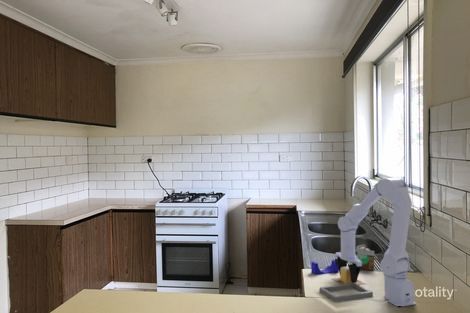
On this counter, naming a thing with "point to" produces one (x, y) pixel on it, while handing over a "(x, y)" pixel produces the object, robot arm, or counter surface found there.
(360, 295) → the parts tray
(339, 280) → the brown square tile
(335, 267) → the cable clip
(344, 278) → the yellow and white block
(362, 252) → the food container
